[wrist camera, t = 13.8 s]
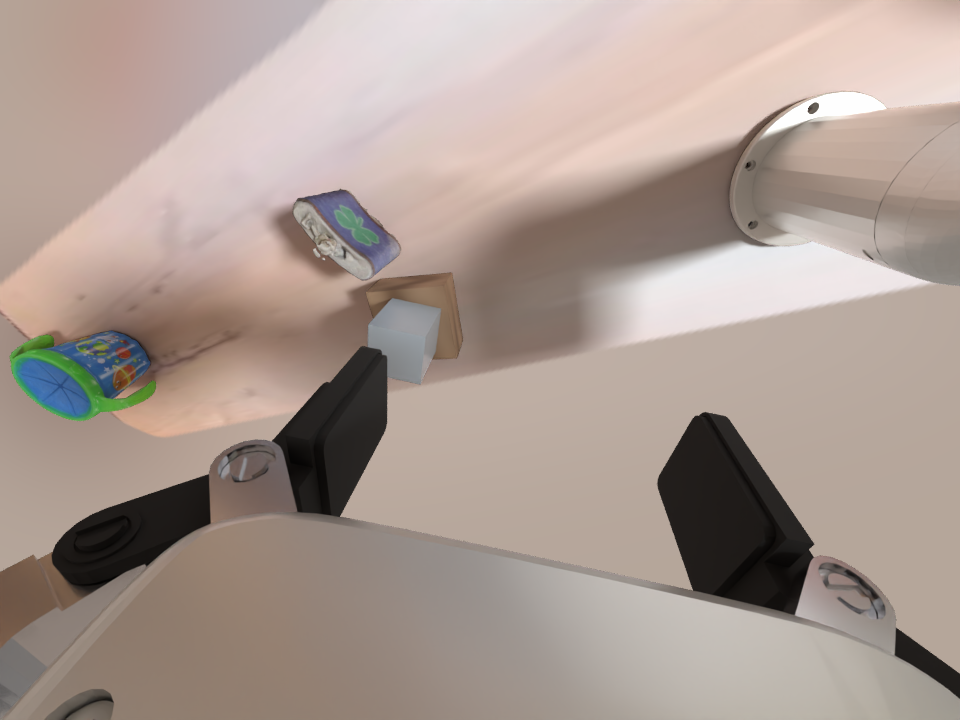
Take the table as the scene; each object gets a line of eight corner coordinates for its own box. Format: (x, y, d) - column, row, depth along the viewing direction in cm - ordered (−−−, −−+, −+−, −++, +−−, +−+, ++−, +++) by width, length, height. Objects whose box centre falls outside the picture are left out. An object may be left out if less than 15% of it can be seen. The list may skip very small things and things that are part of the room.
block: (452, 271, 44) (443, 285, 39) (463, 339, 48) (456, 358, 44) (381, 278, 45) (365, 292, 41) (398, 342, 50) (385, 361, 45)
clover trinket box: (406, 247, 42) (371, 276, 33) (390, 264, 44) (352, 296, 35) (343, 182, 40) (286, 194, 31) (328, 202, 41) (269, 219, 32)
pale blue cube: (441, 308, 41) (425, 336, 35) (435, 351, 44) (420, 384, 38) (392, 298, 41) (368, 324, 35) (389, 341, 44) (367, 372, 38)
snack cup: (73, 348, 57) (-9, 386, 48) (73, 296, 52) (-19, 327, 43) (173, 399, 60) (112, 442, 51) (183, 354, 55) (117, 394, 46)
